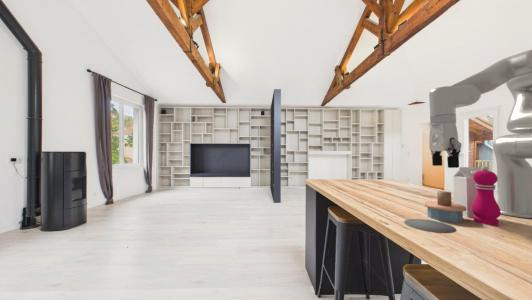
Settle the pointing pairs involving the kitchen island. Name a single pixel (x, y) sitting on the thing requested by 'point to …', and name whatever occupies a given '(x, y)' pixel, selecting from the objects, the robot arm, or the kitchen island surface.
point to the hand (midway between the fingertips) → (444, 166)
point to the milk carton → (465, 189)
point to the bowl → (445, 215)
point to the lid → (444, 203)
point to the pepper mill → (485, 198)
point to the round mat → (430, 226)
